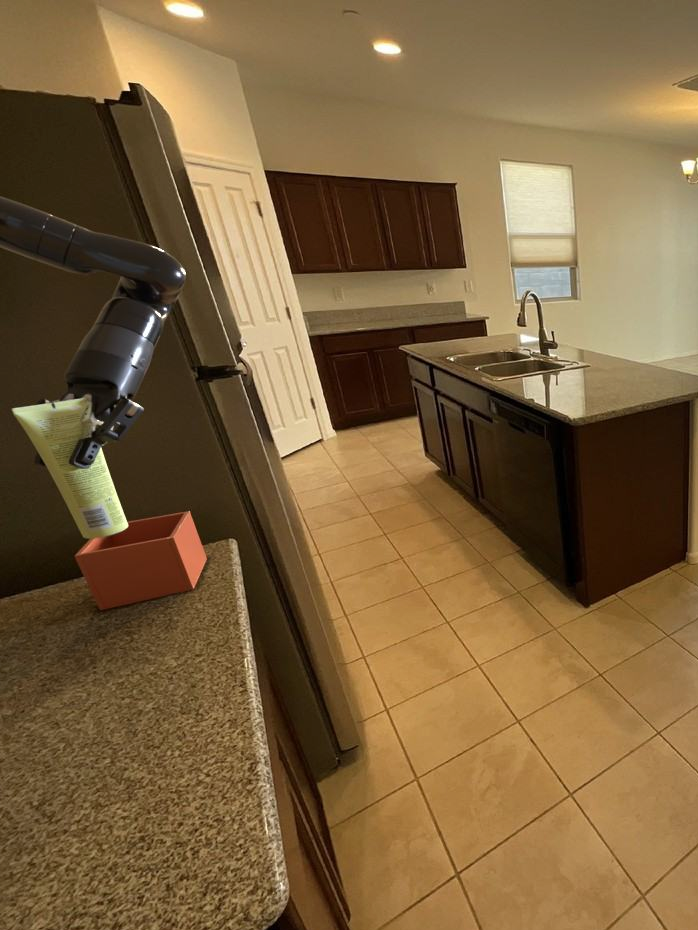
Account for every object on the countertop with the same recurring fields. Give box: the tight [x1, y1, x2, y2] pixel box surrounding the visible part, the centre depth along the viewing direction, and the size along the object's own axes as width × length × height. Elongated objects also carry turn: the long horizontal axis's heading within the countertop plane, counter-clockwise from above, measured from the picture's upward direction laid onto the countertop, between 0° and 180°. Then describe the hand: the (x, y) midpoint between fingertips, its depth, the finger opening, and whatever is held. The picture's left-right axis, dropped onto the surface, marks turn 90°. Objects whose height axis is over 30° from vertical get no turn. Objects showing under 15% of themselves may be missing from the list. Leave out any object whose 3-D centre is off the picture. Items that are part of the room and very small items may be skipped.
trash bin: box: [74, 510, 208, 611], centre depth 92 cm, size 12×12×11 cm
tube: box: [11, 397, 128, 540], centre depth 73 cm, size 6×5×20 cm
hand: (61, 466), depth 71 cm, fingers closed on tube, 4 cm apart
